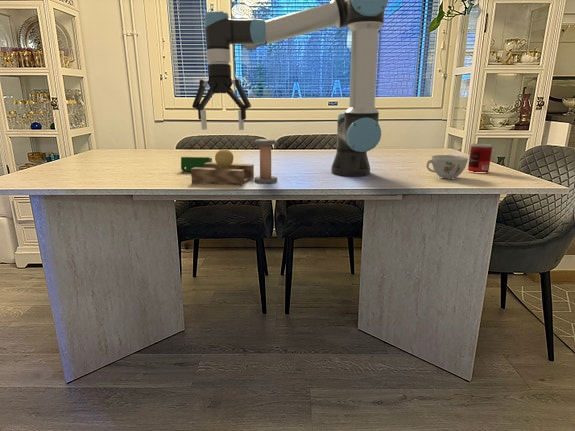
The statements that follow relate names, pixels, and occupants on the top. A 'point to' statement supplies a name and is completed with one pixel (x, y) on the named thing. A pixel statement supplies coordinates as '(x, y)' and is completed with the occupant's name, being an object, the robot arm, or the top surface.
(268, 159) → the bobbin
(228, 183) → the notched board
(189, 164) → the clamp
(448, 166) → the teacup
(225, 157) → the light bulb
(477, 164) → the canned food
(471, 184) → the top surface
